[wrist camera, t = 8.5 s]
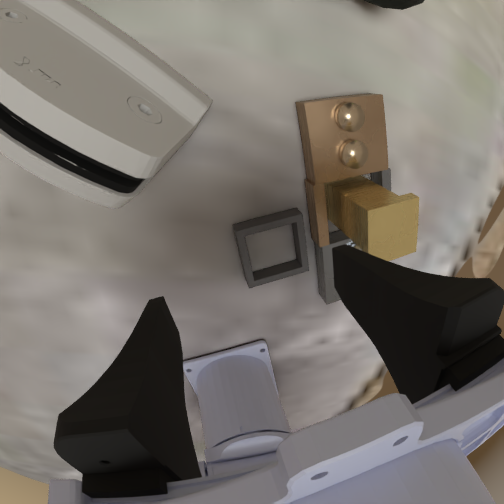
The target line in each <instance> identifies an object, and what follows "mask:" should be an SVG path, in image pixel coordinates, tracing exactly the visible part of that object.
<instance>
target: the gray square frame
mask: <svg viewBox="0 0 504 504" xmlns="http://www.w3.org/2000/svg"><path fill="white" fill-rule="evenodd" d="M291 223H292V226H293V233H294V240H295V247H296V255H297V260H294V261H290V262H287V263H283V264H280V265H276V266H273V267H270V268H266V269H263V270H259V271H256V272H252V268H251V264H250V259H249V255H248V250H247V246H246V241H245V237H244V236H247V235H251V234H254V233H258V232H261V231H265V230H269V229H273V228H276V227H280V226H284V225H287V224H291ZM233 228H234V232H235V237H236V241H237V245H238V249H239V253H240V257H241V262H242V266H243V270H244V274H245V278H246V281H247V284H248V286H249V288H252V287H255V286H259V285H262V284H266V283H269V282H272V281H276V280H279V279H283V278H286V277H289V276H293V275H296V274H299V273H303V272H306V271H309V265H308V256H307V247H306V239H305V231H304V223H303V215H302V213H301V212H300V211H299V210H298V209H297V208H295V209H291V210H287V211H283V212H279V213H275V214H272V215H268V216H264V217H260V218H256V219H253V220H249V221H245V222H242V223H238V224H234V225H233Z"/></svg>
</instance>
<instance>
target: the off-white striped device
mask: <svg viewBox="0 0 504 504" xmlns="http://www.w3.org/2000/svg"><path fill="white" fill-rule="evenodd" d="M212 101H213V100H212V99H210V98H209V97H208V96H207V95H206V94H204V93H203V92H202V91H201V90H200V89H198V88H197V87H196V86H195V85H193V84H192V83H191V82H190V81H188V80H187V79H186V78H185V77H183V76H182V75H181V74H180V73H178V72H177V71H176V70H174V69H173V68H172V67H171V66H169V65H168V64H167V63H165V62H164V61H163V60H161V59H160V58H159V57H157V56H156V55H155V54H153V53H152V52H151V51H149V50H148V49H147V48H145V47H144V46H143V45H141V44H140V43H139V42H137V41H136V40H134V39H133V38H132V37H130V36H129V35H127V34H126V33H125V32H123V31H122V30H120V29H119V28H117V27H116V26H114V25H113V24H112V23H110V22H109V21H107V20H106V19H104V18H103V17H101V16H100V15H98V14H97V13H95V12H94V11H92V10H91V9H89V8H87V7H86V6H84V5H83V4H81V3H80V2H78V1H76V0H0V153H1V154H3V155H4V156H5V157H7V158H8V159H9V160H11V161H12V162H14V163H16V164H17V165H19V166H20V167H22V168H24V169H25V170H27V171H29V172H30V173H32V174H34V175H35V176H37V177H39V178H41V179H42V180H44V181H46V182H48V183H50V184H52V185H54V186H56V187H58V188H60V189H62V190H64V191H67V192H69V193H71V194H74V195H76V196H78V197H81V198H83V199H86V200H88V201H91V202H94V203H96V204H99V205H102V206H105V207H107V208H112V209H117V208H120V207H122V206H124V205H125V204H126V203H128V202H129V201H130V200H131V199H133V198H134V197H135V196H137V195H138V194H139V193H140V192H141V191H142V190H143V188H144V187H145V186H146V185H147V184H148V183H149V181H150V180H151V179H152V178H153V177H154V176H155V175H156V174H157V172H158V171H159V170H160V169H161V168H162V167H163V166H164V165H165V164H166V162H167V161H168V160H169V159H170V158H171V157H172V156H173V155H174V154H175V153H176V152H177V151H178V149H179V148H180V147H181V146H182V145H183V144H184V143H185V142H186V140H187V139H188V138H189V137H190V136H191V135H192V133H193V132H194V130H195V128H196V127H197V125H198V124H199V122H200V121H201V119H202V118H203V116H204V115H205V113H206V112H207V110H208V108H209V107H210V105H211V103H212Z"/></svg>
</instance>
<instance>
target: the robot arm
mask: <svg viewBox="0 0 504 504" xmlns="http://www.w3.org/2000/svg"><path fill="white" fill-rule="evenodd" d="M332 257H333V273H334V287H335V289H336V291H337V293H338V295H339V297H340V298H341V300H342V302H343V303H344V305H345V306H346V308H347V309H348V310H349V312H350V313H351V314H352V316H353V317H354V318H355V320H356V321H357V322H358V324H359V325H360V326H361V327H362V329H363V330H364V331H365V333H366V334H367V335H368V337H369V338H370V339H371V341H372V342H373V344H374V345H375V347H376V349H377V350H378V352H379V354H380V356H381V357H382V359H383V361H384V363H385V365H386V366H387V368H388V370H389V372H390V374H391V376H392V378H393V380H394V382H395V384H396V386H397V389H398V391H399V393H400V394H398V393H393V394H390V395H386V396H383V397H380V398H378V399H376V400H373V401H371V402H369V403H367V404H364V405H362V406H360V407H357V408H355V409H352V410H350V411H348V412H345V413H343V414H340V415H338V416H335V417H332V418H330V419H327V420H324V421H322V422H319V423H316V424H313V425H310V426H308V427H305V428H303V429H301V430H299V431H297V432H294V433H292V431H291V429H290V426H289V424H288V421H287V418H286V416H285V413H284V410H283V407H282V405H281V402H280V399H279V394H278V390H277V386H276V381H275V377H274V373H273V369H272V364H271V360H270V356H269V352H268V347H267V344H266V342H265V341H263V340H261V341H257V342H254V343H250V344H247V345H243V346H240V347H236V348H233V349H229V350H225V351H222V352H218V353H214V354H211V355H207V356H203V357H199V358H195V359H191V360H187V361H184V362H183V353H182V347H181V341H180V335H179V331H178V329H177V327H176V325H175V322H174V320H173V318H172V315H171V313H170V311H169V309H168V306H167V304H166V302H165V299H164V297H163V296H162V297H158V298H154V299H151V300H149V301H148V303H147V305H146V307H145V309H144V311H143V313H142V315H141V317H140V319H139V321H138V322H137V324H136V326H135V328H134V330H133V332H132V334H131V335H130V337H129V339H128V340H127V342H126V344H125V345H124V347H123V349H122V350H121V352H120V353H119V355H118V356H117V357H116V359H115V360H114V361H113V363H112V364H111V366H110V367H109V368H108V369H107V370H106V372H105V373H104V374H103V375H102V376H101V377H100V378H99V379H98V381H97V382H96V383H95V384H94V385H93V386H92V387H91V388H90V389H89V390H88V391H87V392H86V393H85V394H84V395H83V396H81V397H80V398H79V399H78V400H77V401H76V402H74V403H73V404H72V405H71V406H69V407H68V408H67V409H65V410H64V411H63V412H61V413H60V414H59V416H58V421H57V426H56V432H55V439H54V449H55V450H56V452H57V453H58V455H59V456H60V457H61V458H62V459H64V460H65V461H66V462H67V463H69V464H70V465H71V466H73V467H74V468H75V469H77V470H78V471H79V472H81V473H82V474H83V477H82V481H79V480H76V479H50V483H49V495H48V504H496V503H495V501H494V500H493V498H492V496H491V495H490V493H489V492H488V490H487V489H486V487H485V485H484V484H483V482H482V481H481V479H480V477H479V476H478V474H477V473H476V471H475V470H474V468H473V467H472V465H471V464H470V462H469V461H468V459H467V457H466V456H467V455H468V454H470V453H471V452H472V451H473V450H475V449H476V448H477V447H478V446H480V445H481V444H482V443H483V442H485V441H486V440H487V439H488V438H489V437H491V435H493V434H494V433H495V432H496V431H497V430H499V429H500V428H501V427H502V426H503V425H504V339H503V338H502V337H501V336H500V335H499V334H501V329H500V328H499V327H498V326H497V322H498V319H499V317H500V314H501V311H502V308H503V305H504V290H503V289H502V288H501V287H500V286H498V285H497V284H496V283H495V282H494V281H492V280H491V279H490V278H457V277H448V276H441V275H435V274H430V273H425V272H421V271H417V270H413V269H410V268H406V267H403V266H400V265H397V264H394V263H392V262H389V261H386V260H384V259H381V258H379V257H376V256H374V255H371V254H369V253H366V252H364V251H362V250H359V249H357V248H354V247H352V246H349V245H346V244H343V245H340V246H337V247H333V248H332ZM263 348H264V349H263ZM261 349H262V350H261ZM183 371H184V373H185V375H186V377H187V378H188V380H189V382H190V384H191V386H192V388H193V389H194V391H195V393H196V395H197V397H198V401H199V408H200V414H201V421H202V427H203V433H204V439H205V445H206V449H205V450H204V452H205V458H206V463H207V464H206V463H205V461H202V462H198V461H197V457H196V453H195V449H194V445H193V441H192V436H191V432H190V427H189V422H188V417H187V411H186V406H185V395H184V375H183Z"/></svg>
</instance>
